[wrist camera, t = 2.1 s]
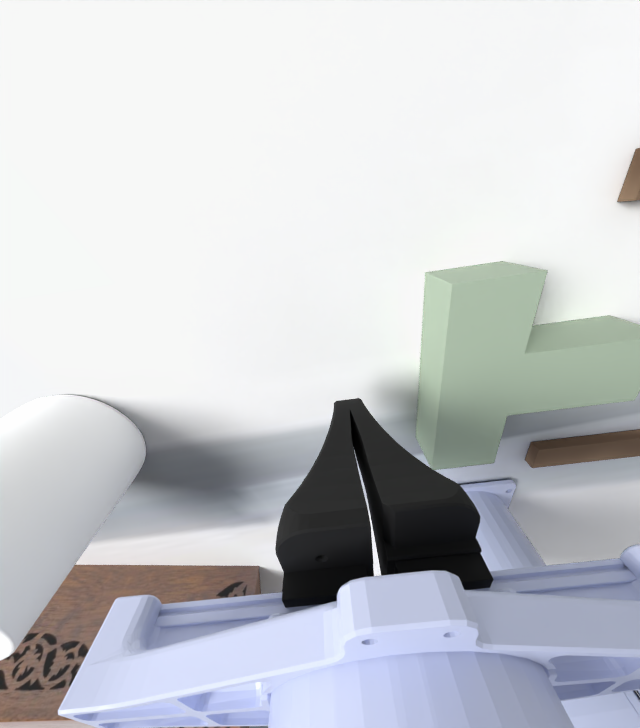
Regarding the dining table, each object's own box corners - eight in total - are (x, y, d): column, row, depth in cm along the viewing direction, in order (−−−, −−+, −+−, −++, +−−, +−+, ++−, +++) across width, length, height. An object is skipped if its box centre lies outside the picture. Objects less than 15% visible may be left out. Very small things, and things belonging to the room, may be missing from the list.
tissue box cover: (259, 563, 28) (235, 715, 20) (263, 616, 35) (246, 746, 26) (9, 561, 27) (-138, 726, 18) (64, 617, 34) (-23, 756, 25)
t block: (565, 419, 19) (605, 450, 16) (415, 436, 19) (431, 470, 17) (640, 240, 13) (721, 245, 11) (425, 272, 14) (452, 284, 11)
